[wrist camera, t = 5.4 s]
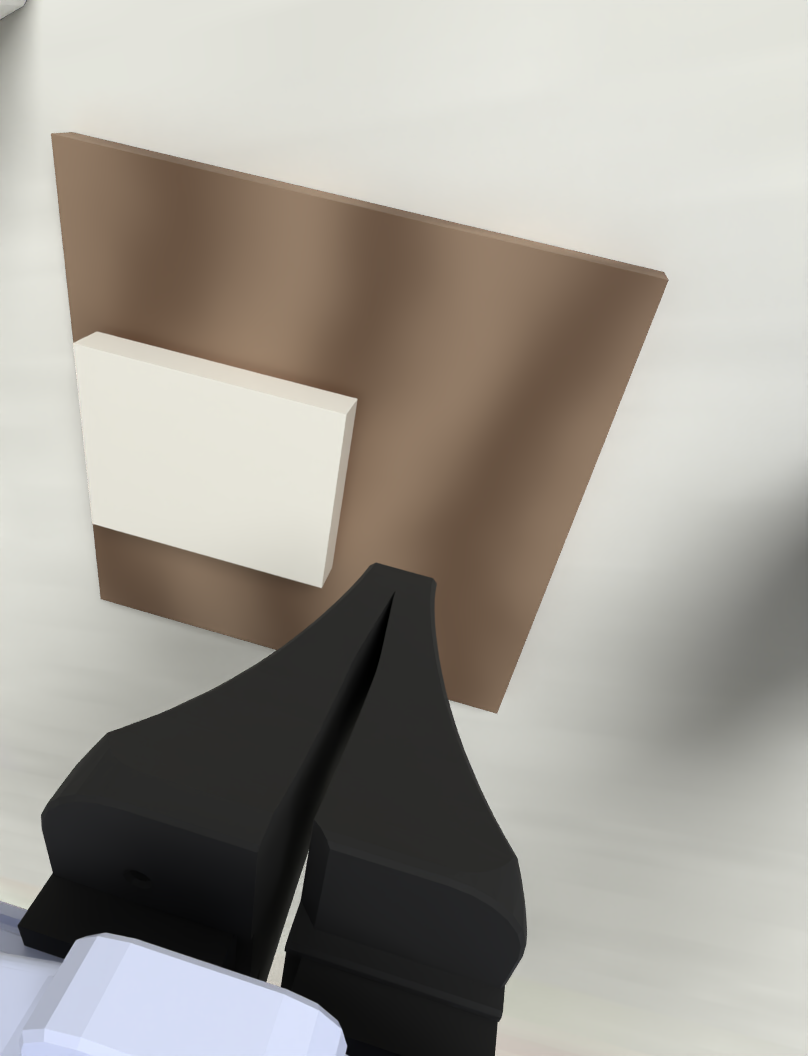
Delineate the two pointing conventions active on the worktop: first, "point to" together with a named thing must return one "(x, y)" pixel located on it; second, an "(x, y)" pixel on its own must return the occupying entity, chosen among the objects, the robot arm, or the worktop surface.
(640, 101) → the worktop surface
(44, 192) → the worktop surface
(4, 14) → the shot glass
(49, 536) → the worktop surface
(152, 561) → the walnut board
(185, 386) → the glazed tile
